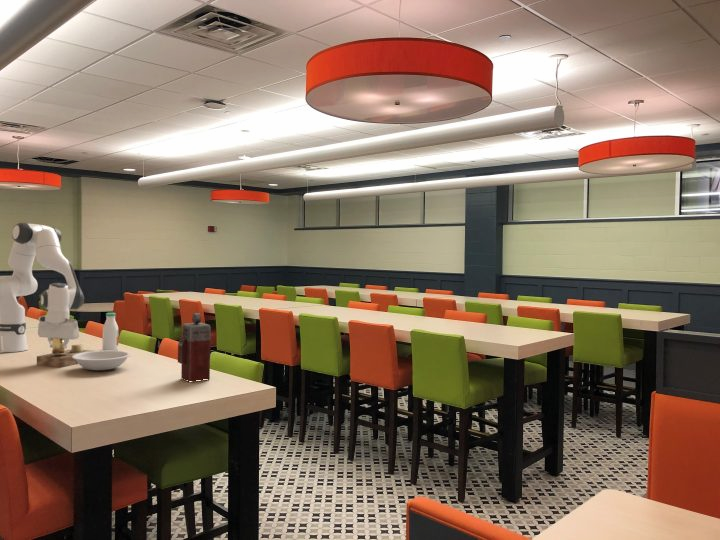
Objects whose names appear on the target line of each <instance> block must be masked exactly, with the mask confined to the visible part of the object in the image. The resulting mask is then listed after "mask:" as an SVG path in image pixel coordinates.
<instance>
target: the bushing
mask: <svg viewBox="0 0 720 540" xmlns="http://www.w3.org/2000/svg"><path fill="white" fill-rule="evenodd" d="M63 343H64V341H63V339H59V338H52V348H51V353H53V354H61V353H64V351H65V349H64V348H61V347H62V346H61V345H62V344H63Z"/></svg>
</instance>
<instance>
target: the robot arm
mask: <svg viewBox="0 0 720 540" xmlns="http://www.w3.org/2000/svg"><path fill="white" fill-rule="evenodd" d="M11 234H12V235H11V236H12V239H13V240H14V242H13V244H12V247H11V250H10V253H9V256H8V259H7V265H8V266H9V267H10V269H12V270H13V272H12V274H11V275H0V354H1V353H2V354H3V353H16V352H23V351H28V350H29V345H28V341H27V333H26V329H27V323H26V309H25V307H24V305H22V304H20V303H19V301H18V300H17V297H24V296H26V297H27V296H28V295H33V294H34V293H36V292H37V290H38V285H39V284H38V281H37V279H36V278H35V277H34V275H33V265H34V261H35V259H36V261H37V263H38V264H39V265H40V266H42V267H43V268H45V269H47V270H51V271H54V272H57V273H59V274H62V275H63V277H64V278H65V281H66V283H63V282H53V283H50V284H49V287H48V289H45V290H44V291H42V292H41V294H40V306H41V307H42V308H43V309H45V310H48V311H47V314H46V315H41V316H39V317H38V319H37V320H38V322H39V323H38V325H37V335H38V337H39V338H46V339H47V341H48V343H49V347H50V348H51V349H52V338H59V339H63V341H64V343H63V344H62V345H61V346H62V347H61V348H64V350H66V349H67V348H68V344H69V342H70V340H77V339H79V338H80V331H79V330H80V329H79V326H78V324H79V323H78V321H77V320H76V319H74V318H70V310H76V311H77V310H78V309H80V308H81V307H82V306H83V305H84V304H85V296H84V292H83V291H82V289H81V286H80V284H79V280H78V279H77V275H76V273H75V269H74V268H73V264H72V262H71V260H70V259H68V258H66V257H65V256H64V254H63V252H62V248H61V241H62V236H63V235H62V232H61V230H60V229H58V228H57V227H54V226H49V225H45V224H44V225H43V224H38V223H37V224H36V223H27V222H18V223H17V224H15V225H14V226H13V228H12V233H11Z"/></svg>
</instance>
